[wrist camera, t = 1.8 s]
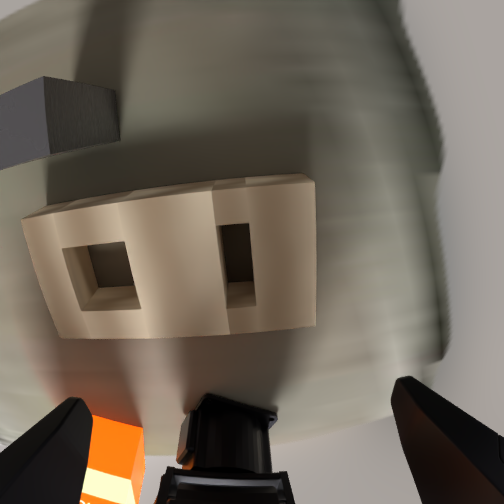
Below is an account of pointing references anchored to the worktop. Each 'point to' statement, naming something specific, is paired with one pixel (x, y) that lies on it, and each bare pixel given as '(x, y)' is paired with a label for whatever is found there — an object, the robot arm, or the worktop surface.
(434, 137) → the worktop surface
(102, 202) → the socket block
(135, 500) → the orange juice
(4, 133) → the square bit
